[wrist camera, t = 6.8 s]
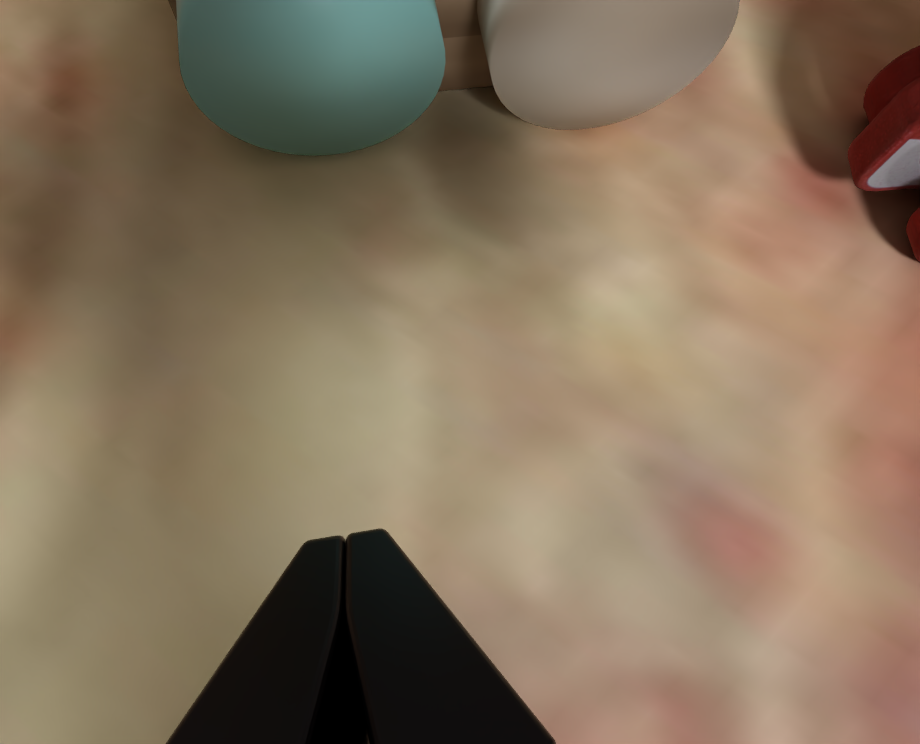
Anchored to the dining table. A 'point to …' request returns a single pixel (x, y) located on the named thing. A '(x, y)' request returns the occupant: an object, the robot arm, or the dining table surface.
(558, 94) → the walnut mount
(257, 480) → the dining table surface
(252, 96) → the teal knob
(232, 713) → the robot arm
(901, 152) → the toy fire truck
